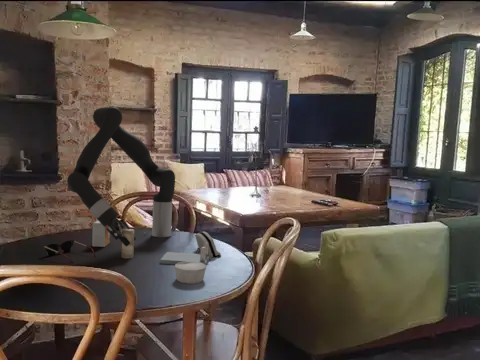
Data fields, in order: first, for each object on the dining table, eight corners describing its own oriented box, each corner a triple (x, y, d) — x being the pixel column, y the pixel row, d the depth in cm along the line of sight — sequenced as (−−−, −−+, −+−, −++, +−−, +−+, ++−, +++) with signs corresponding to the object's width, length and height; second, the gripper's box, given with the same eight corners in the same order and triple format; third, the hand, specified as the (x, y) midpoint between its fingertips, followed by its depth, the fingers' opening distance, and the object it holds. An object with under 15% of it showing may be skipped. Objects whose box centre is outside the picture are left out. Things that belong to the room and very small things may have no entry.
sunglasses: (72, 250, 195) (73, 239, 195) (98, 260, 187) (99, 248, 186) (43, 257, 184) (44, 244, 183) (69, 267, 176) (70, 254, 175)
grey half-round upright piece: (221, 257, 196) (215, 235, 194) (211, 261, 194) (204, 239, 192) (209, 247, 211) (202, 227, 209) (199, 251, 210) (193, 231, 207)
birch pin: (123, 254, 191) (124, 228, 190) (134, 255, 191) (135, 229, 190) (119, 257, 187) (120, 231, 186) (131, 258, 186) (132, 231, 185)
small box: (104, 247, 202) (105, 223, 201) (91, 246, 202) (92, 222, 201) (110, 243, 210) (110, 220, 209) (97, 242, 210) (98, 219, 209)
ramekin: (190, 273, 172) (190, 259, 171) (212, 280, 165) (212, 265, 164) (167, 279, 163) (167, 264, 163) (189, 287, 156) (190, 272, 156)
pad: (167, 255, 194) (167, 239, 193) (209, 258, 193) (210, 241, 192) (160, 263, 182) (160, 245, 181) (205, 266, 181) (206, 249, 180)
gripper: (104, 209, 180) (132, 240, 181) (116, 203, 195) (143, 232, 195) (90, 221, 181) (119, 253, 182) (104, 215, 195) (130, 244, 196)
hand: (131, 242), depth 188 cm, fingers open, 7 cm apart
